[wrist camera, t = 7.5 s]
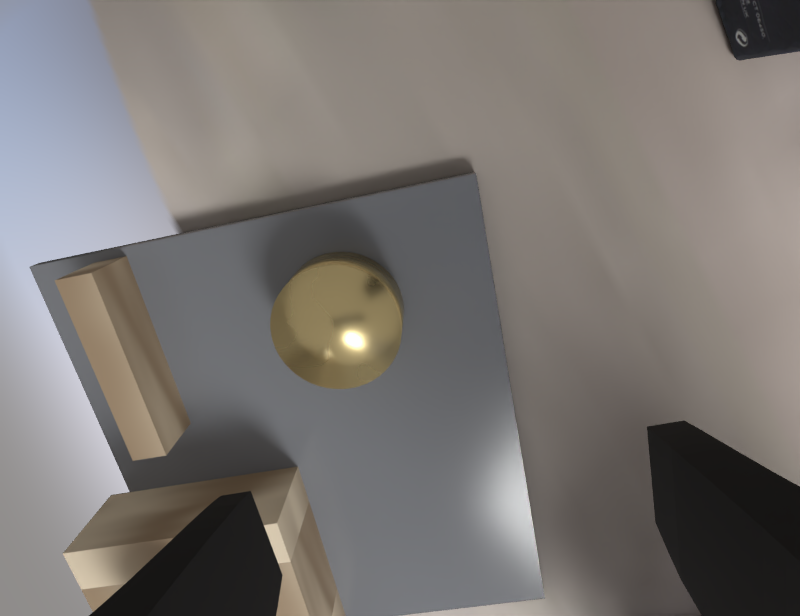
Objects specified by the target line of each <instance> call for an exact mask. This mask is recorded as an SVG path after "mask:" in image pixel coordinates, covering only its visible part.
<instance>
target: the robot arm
mask: <svg viewBox="0 0 800 616" xmlns="http://www.w3.org/2000/svg"><path fill="white" fill-rule="evenodd" d="M647 431H648V442H649V454H650V465H651V476H652V487H653V498H654V510H655V521H656V524H657V527H658V529H659V531H660V534H661V536H662V538H663V541H664V543H665V545H666V547H667V550H668V552H669V554H670V556H671V559H672V561H673V563H674V565H675V567H676V570H677V572H678V574H679V576H680V578H681V580H682V582H683V584H684V585H685V587H686V589H687V591H688V592H689V594H690V596H691V598H692V599H693V601H694V603H695V604H696V606H697V608H698V610H699V611H700V613H701V615H702V616H800V487H799V486H797V485H796V484H794V483H792V482H790V481H788V480H787V479H785V478H783V477H781V476H779V475H778V474H776V473H774V472H772V471H770V470H769V469H767V468H765V467H763V466H762V465H760V464H758V463H756V462H755V461H753V460H751V459H749V458H748V457H746V456H744V455H743V454H741V453H739V452H737V451H736V450H734V449H732V448H731V447H729V446H727V445H725V444H724V443H722V442H720V441H719V440H717V439H715V438H714V437H712V436H710V435H709V434H707V433H705V432H703V431H702V430H700V429H698V428H696V427H695V426H693V425H691V424H689V423H687V422H686V421H679V422H673V423H667V424H661V425H655V426H649V427H647ZM282 576H283V575H282V572H281V570H280V567H279V564H278V562H277V559H276V556H275V554H274V551H273V548H272V546H271V543H270V540H269V538H268V535H267V532H266V530H265V527H264V525H263V522H262V519H261V517H260V514H259V511H258V509H257V506H256V503H255V501H254V498H253V495H252V493H251V491H247V492H241V493H235V494H228V495H222V496H220V497H218V498H217V499H216V500H215V501H213V502H212V503H211V504H210V505H209V506H208V507H206V508H205V509H204V510H203V511H202V512H201V513H200V514H199V515H198V516H196V517H195V518H194V519H193V520H192V521H191V522H190V523H189V524H188V525H187V526H186V527H185V528H184V529H183V530H182V531H180V532H179V533H178V534H177V535H176V536H175V537H174V538H173V539H172V540H171V541H170V542H169V543H168V544H167V545H166V546H165V547H164V548H163V549H162V550H160V551H159V552H158V553H157V554H156V555H155V556H154V557H153V558H152V559H151V560H150V561H149V562H148V563H147V564H146V565H145V566H144V567H142V568H141V569H140V570H139V571H138V572H137V573H136V574H135V575H134V576H133V577H132V578H131V579H130V580H129V581H128V582H127V583H125V584H124V585H123V586H122V587H121V588H120V589H119V590H118V591H116V592H115V593H114V594H113V595H112V596H111V597H110V598H109V599H107V600H106V601H105V602H104V603H103V604H102V605H101V606H100V607H98V608H97V609H96V610H95V611H94V612H93V613H92V614H91V615H89V616H276V613H277V608H278V602H279V595H280V589H281V583H282Z"/></svg>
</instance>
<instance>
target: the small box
mask: <svg viewBox="0 0 800 616" xmlns="http://www.w3.org/2000/svg"><path fill="white" fill-rule="evenodd" d="M716 5H717V7H718V9H719V13H720V16H721V18H722V22H723V25H724V27H725V30H726V33H727V36H728V38H729V40H730V44H731V48H732V51H733V54H734V57H735V58H736V59H737V60H745V59H751V58H758V57H765V56H771V55H778V54H785V53H792V52H798V51H800V0H716Z"/></svg>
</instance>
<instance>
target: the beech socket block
mask: <svg viewBox="0 0 800 616" xmlns="http://www.w3.org/2000/svg"><path fill="white" fill-rule="evenodd" d="M247 491H251V493H252V495H253V498H254V501H255V503H256V506H257V509H258V511H259V514H260V517H261V519H262V522H263V525H264V527H265V530H266V532H267V535H268V538H269V540H270V543H271V546H272V548H273V551H274V554H275V556H276V559H277V562H278V564H279V567H280V570H281V572H282V575H283V576H282V583H281V589H280V595H279V602H278V608H277V613H276V616H346V615H345V612H344V609H343V606H342V602H341V599H340V596H339V593H338V590H337V587H336V584H335V581H334V578H333V574H332V571H331V568H330V565H329V562H328V559H327V556H326V553H325V549H324V546H323V543H322V540H321V537H320V534H319V531H318V528H317V524H316V521H315V518H314V515H313V512H312V509H311V506H310V503H309V500H308V496H307V493H306V490H305V487H304V484H303V481H302V478H301V475H300V471H299V468H298V467H292V468H285V469H279V470H272V471H266V472H259V473H253V474H246V475H239V476H233V477H226V478H220V479H213V480H207V481H200V482H194V483H187V484H181V485H174V486H168V487H161V488H155V489H148V490H141V491H135V492H128V493H122V494H116V495H111V496H110V497H109V498H108V500H107V501H106V502H105V503H104V504H103V506H102V507H101V508H100V509H99V511H98V512H97V513H96V514H95V515H94V516H93V518H92V519H91V520H90V521H89V523H88V524H87V525H86V526H85V527H84V529H83V530H82V531H81V532H80V533H79V535H78V536H77V537H76V538H75V540H74V541H73V542H72V543H71V544H70V545H69V547H68V548H67V549H66V550H65V552H64V553H63V555H64V557H65V559H66V561H67V563H68V564H69V566H70V568H71V570H72V572H73V574H74V576H75V577H76V580H77V582H78V584H79V585H80V588H81V590H82V592H83V593H84V595H85V597H86V599H87V601H88V603H89V605H90V607H91V609H92V611H93V612H94V611H95V610H96V609H97V608H98V607H100V606H101V605H102V604H103V603H104V602H105V601H106V600H107V599H109V598H110V597H111V596H112V595H113V594H114V593H115V592H116V591H118V590H119V589H120V588H121V587H122V586H123V585H124V584H125V583H127V582H128V581H129V580H130V579H131V578H132V577H133V576H134V575H135V574H136V573H137V572H138V571H139V570H140V569H141V568H142V567H144V566H145V565H146V564H147V563H148V562H149V561H150V560H151V559H152V558H153V557H154V556H155V555H156V554H157V553H158V552H159V551H160V550H162V549H163V548H164V547H165V546H166V545H167V544H168V543H169V542H170V541H171V540H172V539H173V538H174V537H175V536H176V535H177V534H178V533H179V532H180V531H182V530H183V529H184V528H185V527H186V526H187V525H188V524H189V523H190V522H191V521H192V520H193V519H194V518H195V517H196V516H198V515H199V514H200V513H201V512H202V511H203V510H204V509H205V508H206V507H208V506H209V505H210V504H211V503H212V502H213V501H215V500H216V499H217V498H218V497H220V496H222V495H228V494H235V493H241V492H247Z"/></svg>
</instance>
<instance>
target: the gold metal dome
mask: <svg viewBox="0 0 800 616" xmlns="http://www.w3.org/2000/svg"><path fill="white" fill-rule="evenodd" d="M403 318H404V304H403V298H402V295H401V292H400V289H399V287H398V285H397V283H396V282H395V280H394V278H393V277H392V276H391V275H390V273H389V272H388V271H387V270H386V269H385V268H384V267H382V266H381V265H380V264H378V263H377V262H376V261H374V260H372V259H370V258H368V257H366V256H363V255H360V254H356V253H352V252H331V253H326V254H323V255H320V256H317V257H315V258H313V259H311V260H310V261H308V262H307V263H305V264H304V265H303V266H302V267H301V268H300V269H299V270H298V271H297V272H296V273H295V274H294V276H293V277H292V278H291V279H290V280H289V282H288V283H287V284H286V285H285V287H284V288H283V289H282V290H281V292H280V293H279V295H278V296H277V298H276V300H275V302H274V305H273V308H272V312H271V318H270V330H271V336H272V340H273V343H274V346H275V349H276V351H277V353H278V354H279V356H280V358H281V359H282V360H283V362H284V363H285V364H286V365H287V366H288V368H289V369H290V370H292V371H293V372H294V373H295V374H296V375H298V376H299V377H301V378H302V379H304V380H306V381H308V382H310V383H312V384H315V385H317V386H321V387H325V388H331V389H349V388H354V387H359V386H362V385H364V384H367V383H369V382H371V381H373V380H374V379H376V378H377V377H379V376H380V375H381V374H382V373H384V372H385V371H386V370H387V368H388V367H389V366H390V365H391V364H392V362H393V360H394V359H395V357H396V355H397V352H398V350H399V346H400V343H401V335H402V327H403Z"/></svg>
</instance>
